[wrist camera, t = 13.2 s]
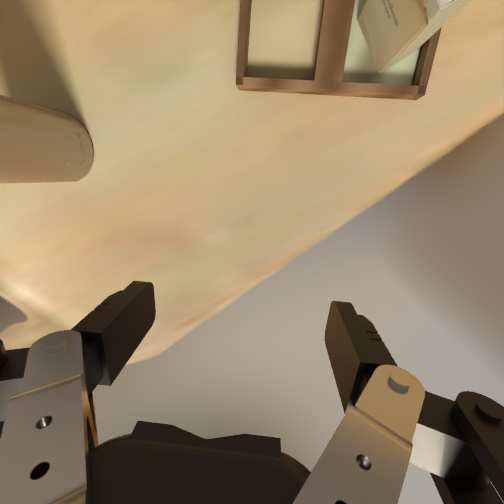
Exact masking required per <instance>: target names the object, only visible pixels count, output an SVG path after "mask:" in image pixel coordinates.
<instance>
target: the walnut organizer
mask: <svg viewBox="0 0 504 504" xmlns="http://www.w3.org/2000/svg"><path fill="white" fill-rule="evenodd" d="M251 1H252V0H241V5H240V22H239V39H238V57H237V74H236V86H237V87H238V89H239V90H246V91H264V92H282V93H300V94H318V95H336V96H354V97H372V98H390V99H408V100H417V99H418V98H420V97H422V96H424V95H425V92H426V88H427V84H428V80H429V76H430V72H431V68H432V64H433V60H434V56H435V52H436V48H437V44H438V40H439V36H440V32H441V28H442V27H441V28H440V29H439V30H438V31H437V32H435V33H434V34H433V35H432V36H431V37H430V38H429V39H428V40H427V41H426V42H425V43H424V44H422V45H421V49H420V47H419V48H418V49H417V50H416V51H415V52H413V53H412V54H410V55H409V56H407V57H406V58H404V59H402V60H401V61H399V62H398V63H396V64H394V65H393V66H391V67H389V68H388V69H386V70H384V71H383V72H381V73H378V71H377V69H376V66H375V64H374V62H373V59H372V57H371V54H370V52H369V49H368V47H367V44H366V42H365V39H364V37H363V34H362V31H361V29H360V26H359V23H358V21H357V19H358V17H359V15H360V13H361V11H362V8H363V6H364V4H365V2H366V0H324V6H323V13H322V21H321V28H320V36H319V43H318V51H317V58H316V65H315V73H314V80H293V79H273V78H253V77H246V75H247V60H248V46H249V31H250V16H251ZM419 49H420V53H419ZM418 54H419V57H418ZM417 58H418V62H417ZM416 62H417V66H416ZM415 66H416V70H415ZM414 71H415V75H414ZM413 75H414V79H413ZM412 79H413V83H412ZM411 84H412V85H411Z"/></svg>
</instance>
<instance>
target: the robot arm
mask: <svg viewBox="0 0 504 504" xmlns="http://www.w3.org/2000/svg"><path fill="white" fill-rule="evenodd" d="M92 161H93V147H92V142H91V140H90V137H89V135H88V133H87V131H86V129H85V128H84V127H83V126H82V124H81V123H80V122H79V121H78V120H76V119H75V118H74V117H72V116H70V115H69V114H66V113H62V112H59V111H55V110H52V109H48V108H45V107H41V106H38V105H35V104H31V103H28V102H24V101H21V100H17V99H13V98H10V97H6V96H3V95H0V183H37V182H72V181H77V180H79V179H81V178H83V177H84V176H85V175H86V174H87V173H88V171H89V170H90V167H91V165H92ZM155 314H156V310H155V298H154V286H153V284H152V283H151V282H142V281H133V282H132V283H131V284H130V285H129V286H128V287H126V288H125V289H124V290H123V291H122V290H120V291H118V292H116V293H114V294H112V295H110V296H109V297H107V298H106V299H105V300H104V301H103V302H102V303H101V305H100V304H99V305H98V306H97V307H96V308H95V309H94V311H92V312H90V313H89V314H88V315H87V316H86V317H85V318H84V319H82V320H81V321H80V322H79V323H78V324H77V325H76V326H74V327H73V328H72V329H71V330H63V331H58V332H54V333H51V334H48V335H46V336H44V337H42V338H40V339H39V340H37V341H36V342H35V343H34V344H33V345H32V346H31V347H30V348H22V349H14V350H5V347H4V344H3V342H2V340H0V504H397V503H398V500H399V497H400V492H401V489H402V486H403V482H404V478H405V475H406V471H407V467H408V464H409V463H411V464H413V465H415V466H418V467H420V468H422V469H425V470H427V471H429V472H430V474H431V476H432V478H433V481H434V483H435V485H436V487H437V490H438V492H439V494H440V496H441V499H442V501H443V503H444V504H504V503H503V502H502V500H503V501H504V407H503V406H502V405H500V404H498V403H497V402H495V401H494V400H492V399H490V398H488V397H486V396H484V395H481V394H478V393H475V392H469V391H466V392H461V393H459V394H458V396H457V398H456V400H455V401H452V400H449V399H446V398H443V397H440V396H438V395H435V394H432V393H429V392H427V391H425V390H424V387H423V386H422V384H421V383H420V381H419V380H418V379H417V378H416V377H415V376H413V375H412V374H411V373H409V372H408V371H406V370H404V369H402V368H400V367H398V366H397V364H396V363H395V361H394V359H393V358H392V356H391V354H390V353H389V351H388V349H387V348H386V346H385V344H384V342H383V341H382V339H381V337H380V336H379V334H378V333H377V330H376V329H375V327H374V325H373V324H372V323H371V322H370V321H369V320H368V319H367V318H366V317H364V316H363V315H357V313H356V311H355V309H354V307H353V305H352V304H351V303H350V302H340V301H332V303H331V306H330V311H329V315H328V320H327V325H326V330H325V344H326V348H327V352H328V355H329V359H330V362H331V366H332V369H333V373H334V377H335V380H336V384H337V388H338V391H339V395H340V398H341V402H342V406H343V409H344V413H345V416H344V417H343V419H342V421H341V423H340V424H339V426H338V428H337V429H336V431H335V433H334V434H333V436H332V438H331V440H330V441H329V443H328V445H327V447H326V448H325V450H324V451H323V453H322V455H321V457H320V458H319V460H318V462H317V463H316V465H315V467H314V468H313V470H312V472H310V471H309V470H308V469H307V468H306V467H305V466H304V465H302V464H301V463H300V462H298V461H297V460H296V459H294V458H292V457H291V456H289V455H287V454H285V453H283V452H281V445H280V438H274V437H266V436H258V435H250V434H241V435H234V436H227V437H220V438H213V439H204V438H201V437H199V436H196V435H194V434H192V433H190V432H187V431H185V430H183V429H180V428H178V427H176V426H173V425H168V424H160V423H152V422H144V421H138V422H137V424H136V426H135V428H134V430H133V432H132V434H127V435H123V436H119V437H116V438H113V439H111V440H109V441H106V442H104V443H102V444H100V445H99V443H98V434H97V424H96V413H95V403H94V395H93V390H94V389H95V387H96V386H97V385H98V384H99V385H109V386H111V384H112V383H113V381H114V380H115V379H116V377H117V376H118V374H119V373H120V371H121V370H122V368H123V367H124V366H125V364H126V363H127V361H128V360H129V358H130V357H131V356H132V354H133V353H134V351H135V350H136V348H137V347H138V345H139V344H140V343H141V341H142V340H143V338H144V337H145V335H146V334H147V332H148V331H149V330H150V328H151V327H152V325H153V323H154V320H155ZM490 481H491V482H492V484H493V485H494V487H495V488H496V490H497V492H498V493H499V495H500V497H501V498H502V500H501V498H500V497H499V495H498V493H497V492H496V490H495V489H494V487H493V485H492V484H491V482H490Z"/></svg>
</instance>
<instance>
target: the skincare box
mask: <svg viewBox="0 0 504 504" xmlns="http://www.w3.org/2000/svg"><path fill="white" fill-rule="evenodd" d="M469 1H470V0H366V2H365V4H364V6H363V8H362V11H361V13H360V15H359V17H358V19H357V21H358V23H359V26H360V29H361V31H362V34H363V37H364V39H365V42H366V44H367V47H368V49H369V52H370V54H371V57H372V59H373V62H374V64H375V66H376V69H377V71H378V73H381V72H383V71H384V70H386V69H388V68H389V67H391V66H393V65H394V64H396V63H398V62H399V61H401V60H402V59H404V58H406V57H407V56H409V55H410V54H412V53H413V52H415V51H416V50H417V49H418V48H419V47H420V46H421V45H422V44H424V43H425V42H426V41H427V40H428V39H429V38H430V37H431V36H432V35H433V34H434V33H435V32H437V31H438V30H439V29H440V28H441V27H442V26H443V25H444V24H445V23H446V22H447V21H449V20H450V19H451V18H452V17H453V16H454V15H455V14H456V13H457V12H458V11H459V10H461V9H462V8H463V7H464V6H465V5H466V4H467V3H468V2H469Z"/></svg>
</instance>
